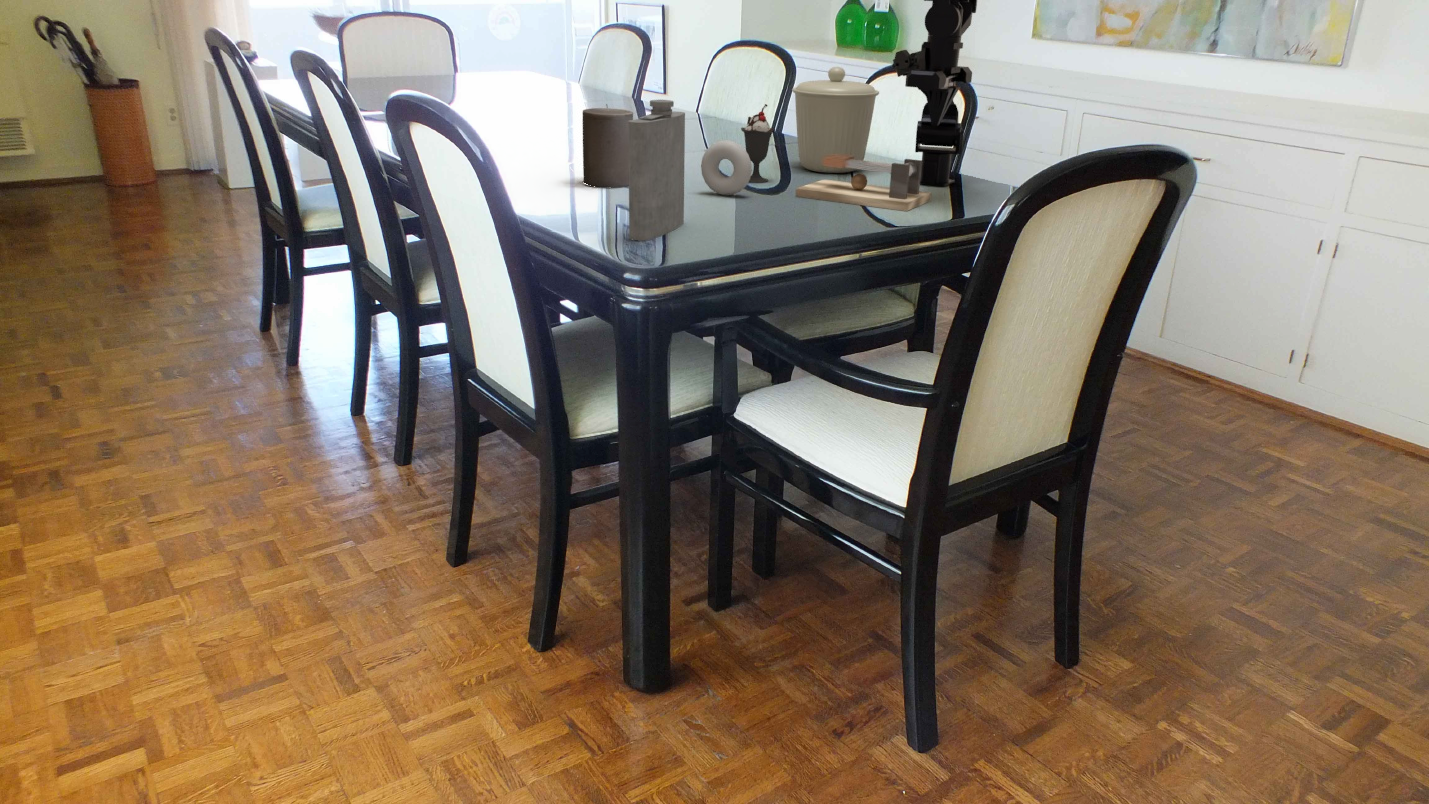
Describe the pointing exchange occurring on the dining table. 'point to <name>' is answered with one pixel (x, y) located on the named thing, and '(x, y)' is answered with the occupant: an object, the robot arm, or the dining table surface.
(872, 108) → the canister
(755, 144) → the sundae
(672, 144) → the hip flask
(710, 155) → the donut
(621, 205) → the dining table surface
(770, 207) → the dining table surface
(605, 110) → the pillar candle
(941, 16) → the robot arm
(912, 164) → the lever
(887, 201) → the base
